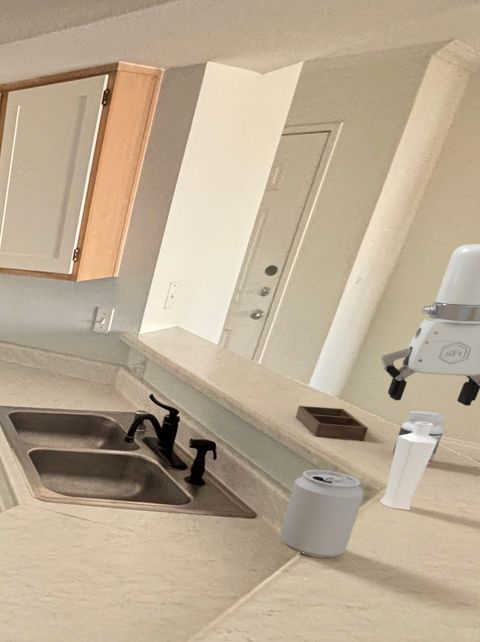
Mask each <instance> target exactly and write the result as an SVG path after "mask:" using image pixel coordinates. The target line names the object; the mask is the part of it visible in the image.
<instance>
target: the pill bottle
mask: <svg viewBox="0 0 480 642" xmlns="http://www.w3.org/2000/svg"><path fill="white" fill-rule="evenodd" d="M407 418H408V421H405V422H403V423H402V424H401V426H400V429H399V432H398V435H397V438H396V441H395V444H394V447H393V450H392V453H391V458H392V459H393V457H394V452H395V448H396V443H397V439H398V436H400V435H405V434H410V433H412V431H413V428H414V425H415V423H414V422H418V421H422V422H428V423H433V426H431V429H430V431H429V434H428V435H430V436H431V437H433V438H435V439H436V440H437V444H436V446H435V448H434V450H433V453H432V455H431V457H430V459H429V461H428V463H427V465H431V464H432V463H433V461H434V458H435V455H436V453H437V450H438V447H439V444H440V441H441V439H442V436H443V433H444V428H443V427H442V426H441V424H442V423H443V422H444V419H445V416H444V415H443V414H440V413H436V412H433V411H432V412H431V411H423V410H412V411H409V413H408V415H407Z"/></svg>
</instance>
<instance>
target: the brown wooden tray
mask: <svg viewBox="0 0 480 642" xmlns="http://www.w3.org/2000/svg"><path fill="white" fill-rule="evenodd" d="M295 418H296V419H297V420H298V421H299V422H300V423H301V424H302V425H303V426H304V427H305V428H306V429H307V430H308V431H309V432H310V433H311V434H312V435H313V436H314V437H319V438H330V439H341V440H352V441H353V440H354V441H365V438H366V435H367V432H368V430H369V427H367V426H366V425H365V424H364V423H362V421H360V420H358V419H357V418H356V417H355V416H353V415H352V414H351V413H349V412H348V411H347V410H345V409H344V408H337V407H322V406H321V407H320V406H310V405H309V406H308V405H298V407H297V410H296V414H295Z"/></svg>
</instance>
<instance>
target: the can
mask: <svg viewBox="0 0 480 642" xmlns="http://www.w3.org/2000/svg"><path fill="white" fill-rule="evenodd" d="M361 484H362V483H361V481H360V480H359V479H357V478H356V477H355V476H352V475H350V474H349V475H348V474H346V473H342V472H339V471H338V472H337V471H332V470H325V469H309V470H305V471H303V472H302V476H300V477H298V478H296V479H295V480H294V483H293V485H292V489H291V492H290V493H291V494H290V497H289V501H288V505H287V508H286V511H285V515H284V518H283V522H282V526H281V530H280V533H279V538H280V540H281V541H282V542H283V543H284V544H285V546H287V548H288V549H291V550H293V551H294V552H296V553H299V554H302V553H303V552H304V553H303V555H306V556H309V557H310V556H311V557H314V558H322V559H324V557H330V558H333V557H336V556H339V555H343V554H344V553H345V552H346V550H347V547H348V544H349V542H350V538H351V534H352V533H353V530H354V527H355V526H354V525H355V523H356V521H357V520H356V519H357V516H358V514H359V510H360V507H361V504H362V501H363V498H364V495H365V492H364V491H363V489H362V488H361V487H360V486H361ZM308 548H309V549H308Z"/></svg>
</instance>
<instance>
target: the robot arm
mask: <svg viewBox="0 0 480 642" xmlns="http://www.w3.org/2000/svg"><path fill="white" fill-rule="evenodd" d="M445 270H446V271H445V273H444V275H443V279H442V282H441V284H440V287H439V290H438V293H437V296H436V298H435V301H434V302H432V305H429V306H428V305H427V306H426V305H425V306H423V307H422V308H421V314H426V315H428V317H429V318H424V319H423V321H422V322H421V323H420V325H419V326H418V328H417V330H416V332H415V333H414V335H413V336H412V339H411V340H410V343H409V345H408V347H407V348H405V349H401V350H398V351H394V352H390V353H387V354H383V355H382V356H381V357H380V361H381V363H382V365H383V369H384V371H385V372H386V373H388V375H389V376H390V377H391V378H392V380H391V382H390V385H389V388H388V391H387V394H388V395H389V398H391V399H392V400H394V401H400V400H402V397H403V394H404V391H405V389H406V387H407V383H408V381H407V380H406V379H408V378H409V377H410V376H411V375H414V374H415V373H417V374H427V375H444V376H460V377H462V376H463V377H466V378H467V380H468V381H465V382H463V384H462V387H461V390H460V392H459V395H458V397H457V400H456V401H457V402H458V403H460V404H462V405H463V406H467V407H469V406H471V405H472V402H474V401H476V399H477V396H478V395H479V392H480V243H469V244H464V245H460V246H458V247H456V248H455V249H454V250H453V252H452V254H451V257H450V258H449V262H448V264H447V267H446V269H445ZM400 359H403V360H402V365H401V367H399V368H397V367H395V365H394V362H395V361H397V360H400Z"/></svg>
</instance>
